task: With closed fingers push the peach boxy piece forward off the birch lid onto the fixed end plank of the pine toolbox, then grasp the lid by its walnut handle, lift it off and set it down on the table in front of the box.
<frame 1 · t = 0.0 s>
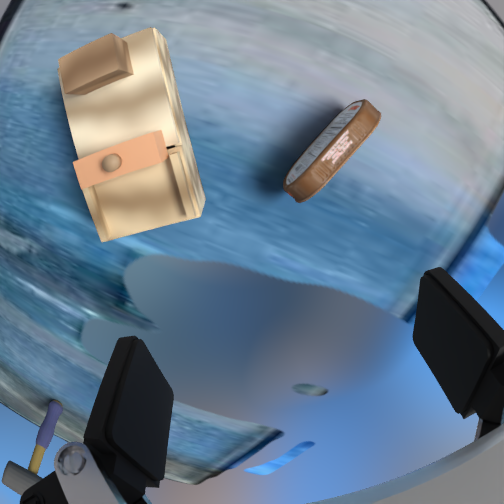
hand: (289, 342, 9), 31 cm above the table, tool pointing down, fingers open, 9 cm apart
toolbox: (139, 131, 34), on the table
rubber mallet: (58, 402, 58), on the table
tin: (320, 143, 37), on the table
peach boxy piece: (118, 159, 27), point 10 cm above the table, slide at 0.0 cm
lid: (115, 101, 27), point 6 cm above the table, touching toolbox
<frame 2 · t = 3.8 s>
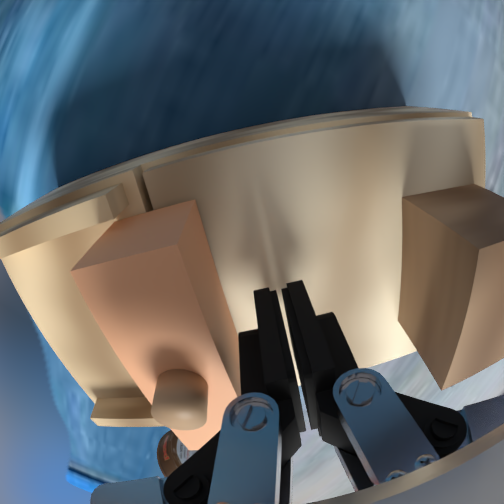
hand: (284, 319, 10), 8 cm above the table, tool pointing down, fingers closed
toolbox: (249, 232, 18), on the table
tin: (230, 433, 28), on the table
peach boxy piece: (186, 359, 10), point 10 cm above the table, slide at 0.4 cm, touching gripper
lid: (350, 265, 12), point 6 cm above the table, touching toolbox
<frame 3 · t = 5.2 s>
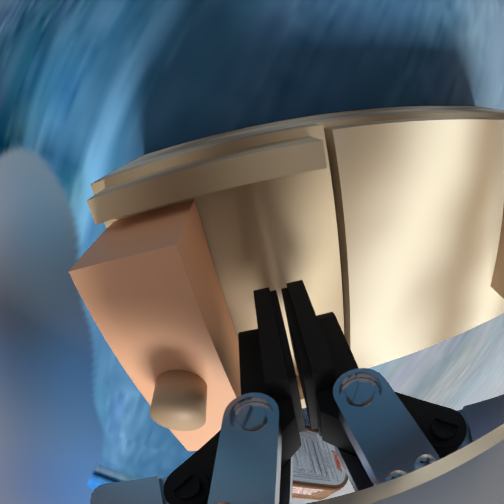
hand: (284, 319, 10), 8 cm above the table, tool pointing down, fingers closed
toolbox: (351, 210, 18), on the table
tin: (288, 424, 28), on the table
peach boxy piece: (185, 360, 9), point 10 cm above the table, slide at 6.7 cm, touching gripper
lid: (462, 236, 12), point 6 cm above the table, touching toolbox
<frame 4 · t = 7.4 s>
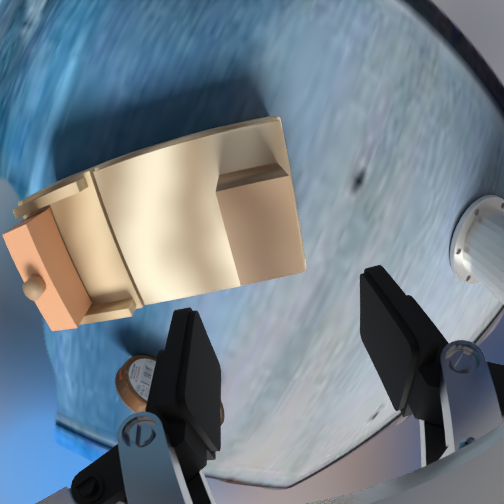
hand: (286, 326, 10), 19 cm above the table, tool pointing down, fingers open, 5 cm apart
toolbox: (167, 206, 28), on the table
tin: (176, 372, 38), on the table
peach boxy piece: (44, 275, 19), point 10 cm above the table, slide at 6.7 cm
lid: (202, 217, 22), point 6 cm above the table, touching toolbox
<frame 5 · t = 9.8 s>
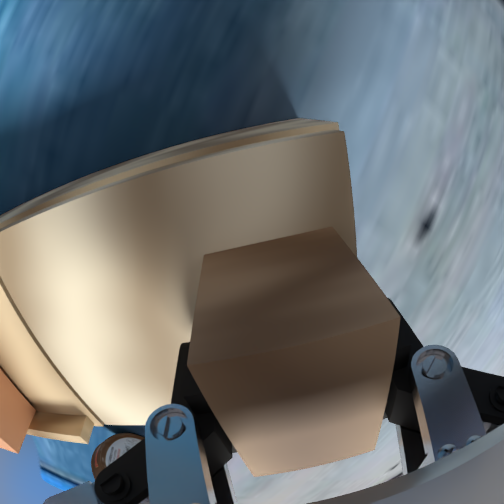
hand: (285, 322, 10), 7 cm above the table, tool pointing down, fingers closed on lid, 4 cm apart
toolbox: (130, 268, 17), on the table
tin: (166, 447, 27), on the table
lid: (179, 321, 11), point 6 cm above the table, touching gripper, toolbox
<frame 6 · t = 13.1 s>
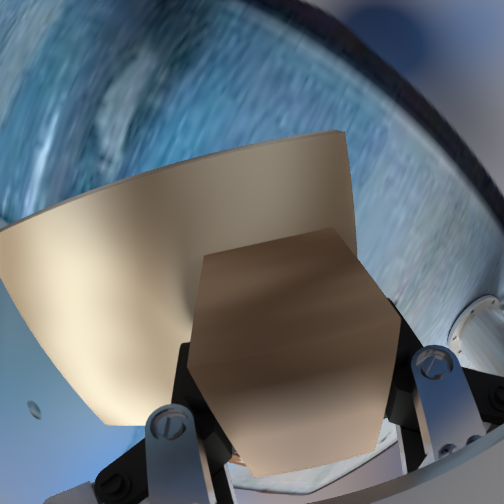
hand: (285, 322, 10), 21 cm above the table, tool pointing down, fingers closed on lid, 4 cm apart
lid: (179, 321, 11), point 20 cm above the table, touching gripper
when the fingers open (3 cm above the table, at t = 16.7 s): lid drops 2 cm, on the table.
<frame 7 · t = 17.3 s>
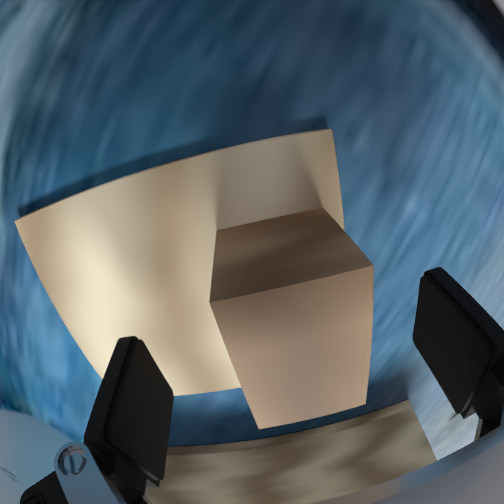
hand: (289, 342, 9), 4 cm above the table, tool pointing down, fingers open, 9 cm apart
toolbox: (275, 466, 21), on the table
lid: (191, 293, 13), on the table
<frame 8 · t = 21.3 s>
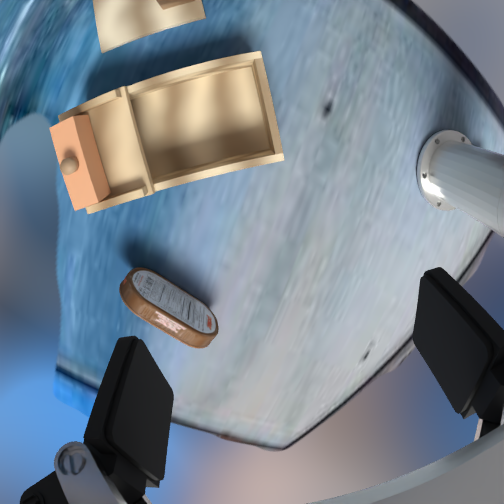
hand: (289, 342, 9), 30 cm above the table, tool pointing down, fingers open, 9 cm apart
toolbox: (177, 127, 34), on the table
tin: (175, 289, 44), on the table
peach boxy piece: (77, 162, 25), point 10 cm above the table, slide at 6.7 cm
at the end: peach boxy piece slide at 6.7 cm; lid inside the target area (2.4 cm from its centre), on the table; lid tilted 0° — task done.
